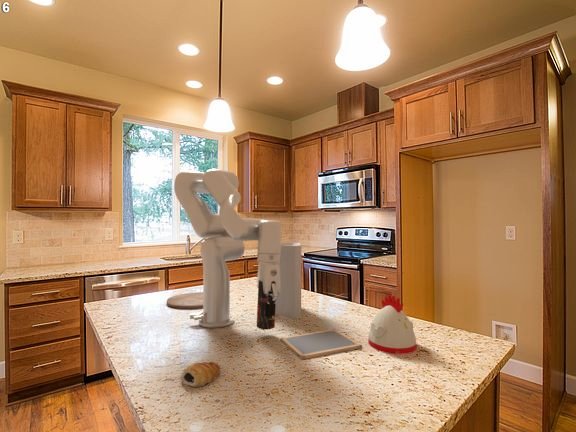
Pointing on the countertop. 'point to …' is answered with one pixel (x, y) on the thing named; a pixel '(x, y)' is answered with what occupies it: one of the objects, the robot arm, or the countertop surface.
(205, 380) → the pastry
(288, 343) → the slate board
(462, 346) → the countertop surface
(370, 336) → the kitchen timer
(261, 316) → the deodorant
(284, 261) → the tall white carton
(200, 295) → the trivet
